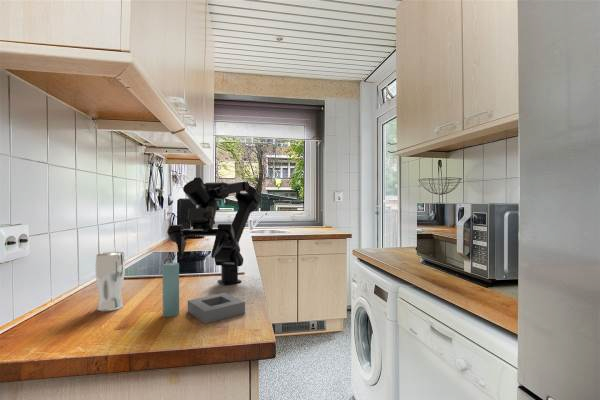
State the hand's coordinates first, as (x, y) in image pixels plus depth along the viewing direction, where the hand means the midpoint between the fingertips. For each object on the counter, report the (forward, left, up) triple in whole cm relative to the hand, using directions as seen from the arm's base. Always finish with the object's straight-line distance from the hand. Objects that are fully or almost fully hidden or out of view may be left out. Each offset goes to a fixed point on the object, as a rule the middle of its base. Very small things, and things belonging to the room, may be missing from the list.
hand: (196, 257), depth 90 cm
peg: (+3, -8, -13) cm, 16 cm away
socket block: (+9, +2, -13) cm, 16 cm away
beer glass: (-13, -19, -14) cm, 27 cm away
